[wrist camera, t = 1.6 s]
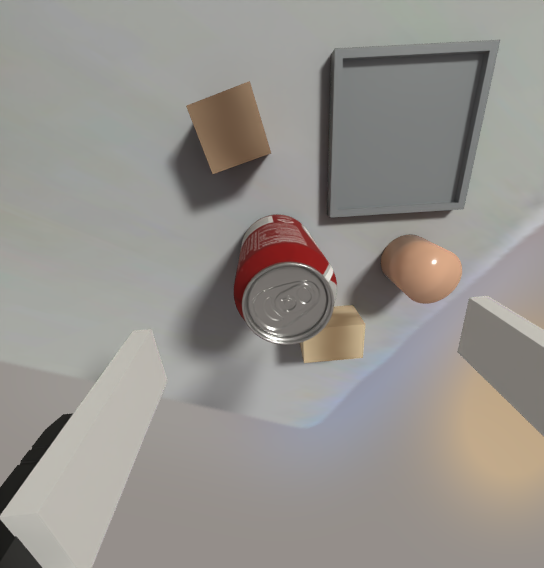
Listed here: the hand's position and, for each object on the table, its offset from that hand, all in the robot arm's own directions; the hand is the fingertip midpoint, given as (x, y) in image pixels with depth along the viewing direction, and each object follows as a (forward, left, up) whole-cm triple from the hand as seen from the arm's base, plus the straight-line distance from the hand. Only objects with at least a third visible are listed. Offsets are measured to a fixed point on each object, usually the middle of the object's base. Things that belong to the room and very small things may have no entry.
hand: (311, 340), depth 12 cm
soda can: (0, -1, -17) cm, 17 cm away
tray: (+11, +8, -17) cm, 21 cm away
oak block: (+5, -10, -17) cm, 20 cm away
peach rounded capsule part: (+13, -3, -17) cm, 21 cm away
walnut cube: (-3, +9, -17) cm, 20 cm away
